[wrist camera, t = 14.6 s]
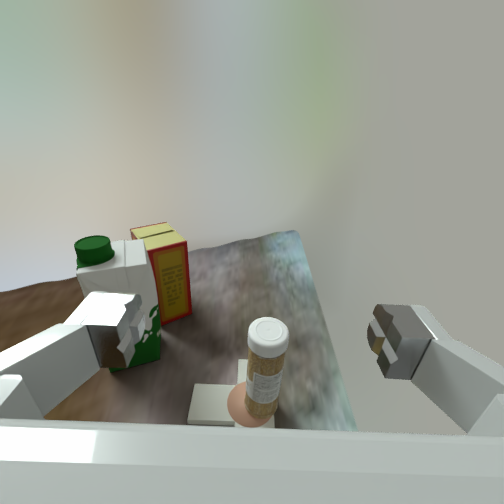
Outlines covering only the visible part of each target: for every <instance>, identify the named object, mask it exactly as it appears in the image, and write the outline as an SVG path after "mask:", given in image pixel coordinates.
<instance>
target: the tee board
mask: <svg viewBox="0 0 504 504" xmlns="http://www.w3.org/2000/svg"><path fill="white" fill-rule="evenodd" d="M247 362H248V360H245V359H239V363H238V380H237V385H216V384H195V386H194V390H193V395H192V400H191V405H190V409H189V414H188V419H187V421H188V424H200V425H228V426H235V427H248V428H275V424H274V414H273V415H272V416H271V417H269V418H266V419H258V418H255V417H253V416H252V415H251V414H250V413H249V412H248V411H247V409H246V408H245V403H244V399H245V395H246V374H247Z"/></svg>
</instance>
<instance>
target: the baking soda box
mask: <svg viewBox="0 0 504 504" xmlns="http://www.w3.org/2000/svg"><path fill="white" fill-rule="evenodd" d="M130 231H131V237H132V240H138V239H143V240H144V244H145V247H146V250H147V253H148V257H149V260H150V263H151V266H152V270H153V275H154V279H155V284H156V290H157V297H158V304H159V311H160V320H161V326H162V325H165V324H167V323H170V322H172V321H175V320H177V319H180V318H182V317H185V316H187V315H190V314H192V305H191V291H190V278H189V264H188V250H187V241H186V240H185V239H184V238H183V237H181V236H180V235H179V234H178V233H177V232H176V231H175V230H174V229H173V228H172V227H171V226H170V225H169V224H167V223H166V222H164V223H158V224H153V225H148V226H143V227H138V228H133V229H130Z"/></svg>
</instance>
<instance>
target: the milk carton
mask: <svg viewBox="0 0 504 504" xmlns="http://www.w3.org/2000/svg"><path fill="white" fill-rule="evenodd" d="M74 247H75V251H76V254H77V265H78V266H77V274H76V275H77V278H78V280H79V283H80V286H81V288H82V291H83V294H84V297H85V298H86V297H87V296H88V295H89V294H90V293H91V292H93V291H104V292H122V293H138V294H139V295H141V299H142V305H141V307H140V310H141V311H142V312H143V313H144V314H145V329H144V333H143V336H142V338H141V340H140V341H139V342H138V343H136V344H135V345H134V348H135V353H134V355H133V357H132V359H131V361H130V363H129V365H128V367H127V368H129V367H133V366H137V365H140V364H144V363H148V362H151V361H155V360H159V359H160V341H161V320H160V311H159V304H158V297H157V290H156V284H155V279H154V275H153V270H152V266H151V263H150V260H149V257H148V253H147V250H146V247H145V244H144V240H143V239H138V240H131V241H125V240H120V241H115V242H110V239H109V238H108V237H105V236H89V237H85V238H82V239H80V240H78V241H77V242H76V243H75V244H74ZM122 369H126V368H109V370H110V373H111V372H114V371H118V370H122Z"/></svg>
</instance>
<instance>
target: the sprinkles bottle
mask: <svg viewBox="0 0 504 504" xmlns="http://www.w3.org/2000/svg"><path fill="white" fill-rule="evenodd" d="M288 341H289V331H288V328H287V327H286V325H285V324H284V323H283V322H281V321H280V320H278V319H275V318H271V317H263V318H259V319H257V320H255V321H254V322H252V324H251V325H250V327H249V330H248V345H249V353H248V362H247V374H246V395H245V399H244V403H245V408H246V409H247V411H248V412H249V413H250V414H251V415H252V416H253V417H255V418H258V419H266V418H269V417H271V416H272V415H273V414H274V413H275V411H276V410H277V406H278V394H279V391H280V385H281V378H282V372H283V366H284V355H285V351H286V349H287V347H288Z"/></svg>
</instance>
